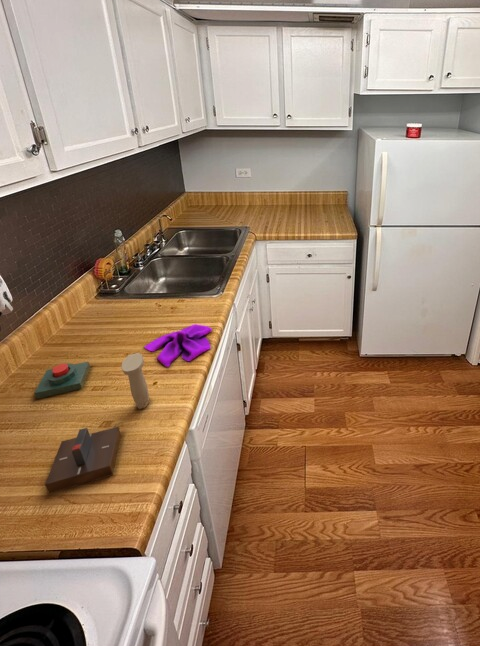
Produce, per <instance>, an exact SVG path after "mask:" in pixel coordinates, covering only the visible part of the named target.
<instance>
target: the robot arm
mask: <svg viewBox="0 0 480 646" xmlns="http://www.w3.org/2000/svg"><path fill="white" fill-rule="evenodd" d="M12 302H13V296H12V294H11V292H10V290H9V288H8V285H7V284H6V282H5V280H4V278H3V277H2V275H0V317H1V316H5V315H8V314H11V313H12V312H13V310H14V307H13V306H12V305H11V303H12ZM0 332H2V327H1V325H0Z"/></svg>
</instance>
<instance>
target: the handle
mask: <svg viewBox="0 0 480 646" xmlns="http://www.w3.org/2000/svg"><path fill="white" fill-rule="evenodd" d="M144 364H145V359H144V355H142V353H140V352H135V353H131V354H129V355H127V356H126V357H125V358H124V359H123V360H122V362H121V371H122V373H123V374H124V375H126V376H127V377H128V382H129V388H130V393H131V396H132V399H133V402H134V404H135V406H136V407H137V408H138V409H139V410H141V409H144V408H147V406H148V405H149V404H150V396H149V395H150V393H149V387H148V384H147V381H146V378H145V374H144V371H143V366H144Z"/></svg>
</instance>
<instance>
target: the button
mask: <svg viewBox="0 0 480 646" xmlns="http://www.w3.org/2000/svg"><path fill="white" fill-rule="evenodd" d="M52 369H53V370H52V372H53V375H54V377H61V376H63V375H65V374H66V373H68V372H69V368H68V365H67V363H59V364H57V365H56V366H54V367H53V368H52Z"/></svg>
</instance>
